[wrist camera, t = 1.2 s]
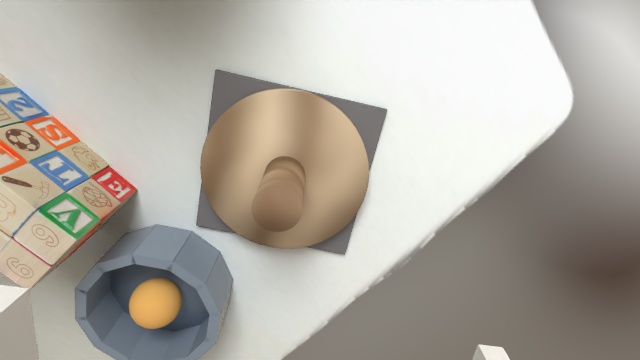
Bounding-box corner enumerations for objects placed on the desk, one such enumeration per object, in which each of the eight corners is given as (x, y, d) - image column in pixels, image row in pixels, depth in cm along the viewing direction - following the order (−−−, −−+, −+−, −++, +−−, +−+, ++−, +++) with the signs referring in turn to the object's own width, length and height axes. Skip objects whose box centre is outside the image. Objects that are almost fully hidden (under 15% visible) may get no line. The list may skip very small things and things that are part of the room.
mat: (197, 223, 34) (196, 225, 34) (216, 69, 29) (215, 69, 29) (344, 252, 36) (344, 254, 35) (386, 109, 31) (387, 110, 30)
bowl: (105, 318, 38) (75, 357, 34) (108, 214, 34) (74, 243, 29) (222, 338, 39) (209, 379, 35) (239, 240, 35) (227, 271, 30)
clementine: (141, 301, 36) (118, 335, 32) (143, 264, 35) (120, 294, 31) (186, 309, 37) (169, 343, 33) (190, 272, 35) (174, 304, 31)
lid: (196, 225, 34) (163, 275, 27) (215, 70, 29) (181, 81, 22) (344, 254, 35) (351, 310, 28) (387, 110, 30) (408, 133, 23)
